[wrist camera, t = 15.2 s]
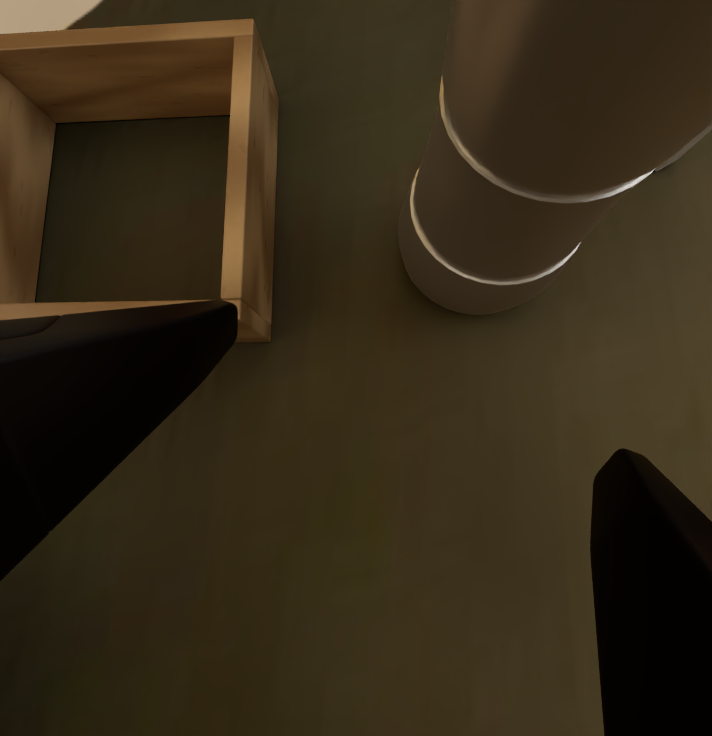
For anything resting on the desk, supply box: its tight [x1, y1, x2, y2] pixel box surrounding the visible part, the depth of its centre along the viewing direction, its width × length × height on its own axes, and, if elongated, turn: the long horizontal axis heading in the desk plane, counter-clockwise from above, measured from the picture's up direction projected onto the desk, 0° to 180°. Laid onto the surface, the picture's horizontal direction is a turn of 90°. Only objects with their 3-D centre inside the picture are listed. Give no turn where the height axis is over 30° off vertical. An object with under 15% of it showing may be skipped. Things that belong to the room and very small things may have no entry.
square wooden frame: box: [0, 19, 279, 342], centre depth 17 cm, size 13×13×4 cm
